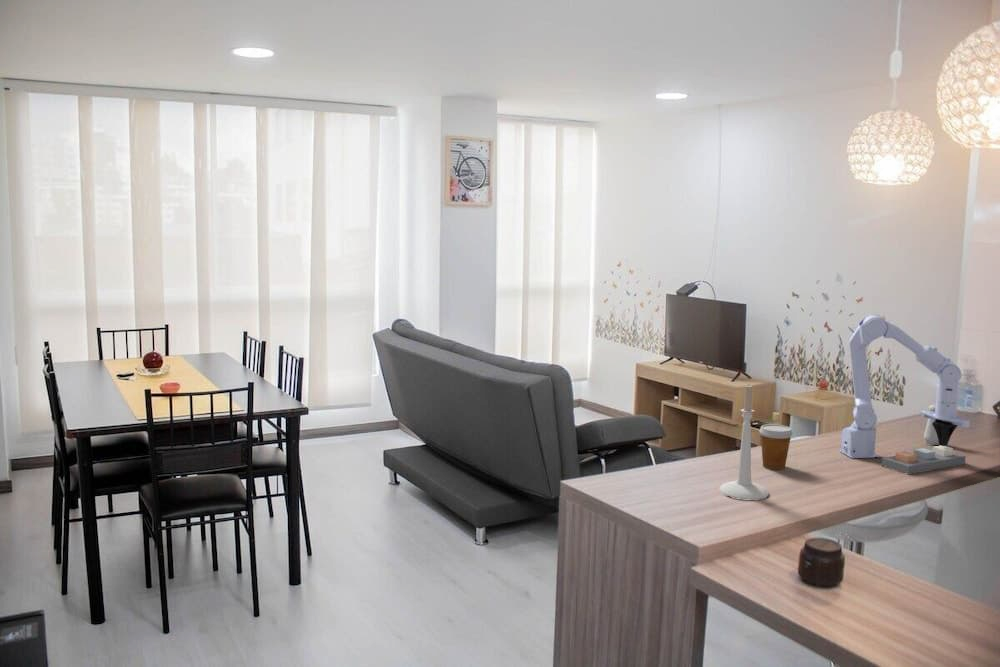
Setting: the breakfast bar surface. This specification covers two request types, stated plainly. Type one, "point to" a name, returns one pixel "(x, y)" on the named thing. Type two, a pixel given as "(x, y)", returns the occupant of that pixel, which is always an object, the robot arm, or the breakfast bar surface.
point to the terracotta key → (906, 457)
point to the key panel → (924, 463)
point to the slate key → (925, 454)
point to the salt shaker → (931, 430)
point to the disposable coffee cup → (775, 445)
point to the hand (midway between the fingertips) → (943, 445)
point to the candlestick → (745, 460)
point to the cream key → (943, 451)
